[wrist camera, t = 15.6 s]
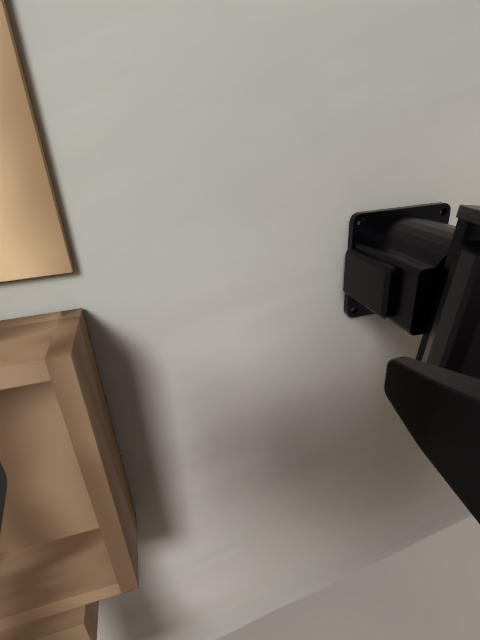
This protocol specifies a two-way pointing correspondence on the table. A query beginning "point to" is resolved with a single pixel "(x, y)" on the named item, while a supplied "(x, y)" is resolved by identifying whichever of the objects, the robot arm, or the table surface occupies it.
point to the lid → (24, 179)
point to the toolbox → (59, 484)
